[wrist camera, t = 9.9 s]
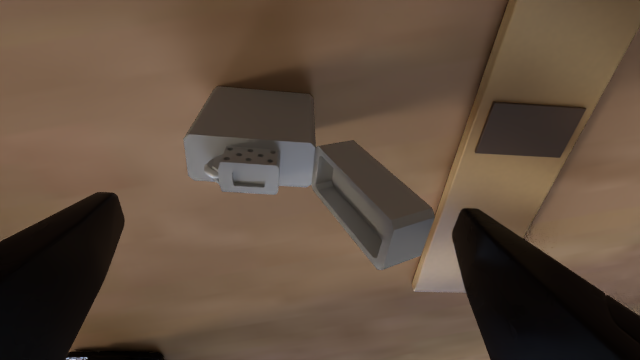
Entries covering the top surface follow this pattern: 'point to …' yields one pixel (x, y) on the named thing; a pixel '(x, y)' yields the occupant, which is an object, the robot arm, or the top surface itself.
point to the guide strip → (526, 117)
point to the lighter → (305, 168)
